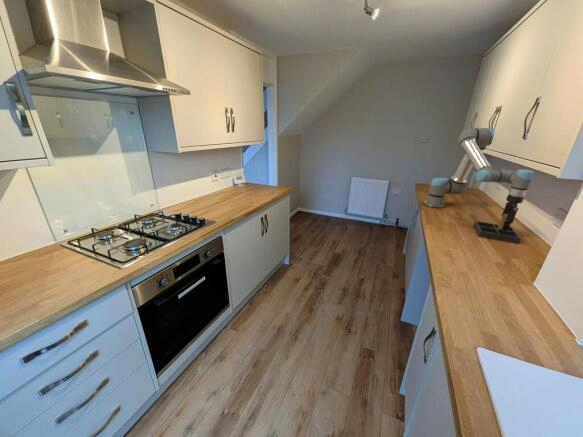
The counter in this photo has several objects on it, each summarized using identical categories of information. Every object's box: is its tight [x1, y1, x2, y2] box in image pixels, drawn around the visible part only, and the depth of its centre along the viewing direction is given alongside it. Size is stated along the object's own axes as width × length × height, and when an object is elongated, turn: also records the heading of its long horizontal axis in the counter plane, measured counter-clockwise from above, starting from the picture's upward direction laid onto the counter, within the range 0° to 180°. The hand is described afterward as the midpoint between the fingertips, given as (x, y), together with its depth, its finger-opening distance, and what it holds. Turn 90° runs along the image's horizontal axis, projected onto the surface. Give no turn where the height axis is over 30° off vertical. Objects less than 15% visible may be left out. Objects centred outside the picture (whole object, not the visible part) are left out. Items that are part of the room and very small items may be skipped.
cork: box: [497, 214, 511, 231], centre depth 151 cm, size 6×6×11 cm
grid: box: [473, 220, 522, 245], centre depth 151 cm, size 19×19×4 cm
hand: (502, 229), depth 153 cm, fingers closed on cork, 6 cm apart
